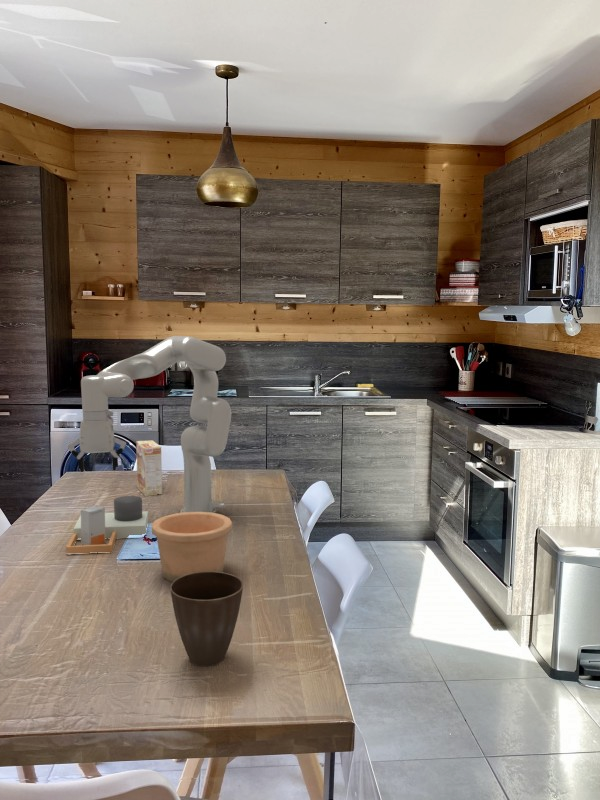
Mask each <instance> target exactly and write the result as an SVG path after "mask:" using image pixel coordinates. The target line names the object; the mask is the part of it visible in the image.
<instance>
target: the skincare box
mask: <svg viewBox="0 0 600 800" xmlns="http://www.w3.org/2000/svg"><path fill="white" fill-rule="evenodd" d="M105 509H106V508H105V507H104V506H103V507H102V506H99V505H93V506H88V507H86V508H83V509H80V515H81V541H80V542H81V545H102V544H106V540H105V513H106V511H105Z"/></svg>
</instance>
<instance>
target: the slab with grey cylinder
mask: <svg viewBox="0 0 600 800" xmlns="http://www.w3.org/2000/svg"><path fill="white" fill-rule="evenodd" d="M147 524H148V525H149V511H148V510H146V511H145V510H144V511H143V498H142V497H140V496H137V495H123V496H119V497H115V498H114V499H113V512H105V538H110V539H109V541H108V543H105V544H102V545H82V544H81V545H80V544H79V545H76V544H75V542H76V540H77V539H78V538H81V514H80V516H79V518H78V520H77V521H76V523H75V525H74V526H73V534H72V535H71V537H70V539H69V541H68V543H67V545H66V546H65V550H66V551H65V552H66V553H90V552H97V553H98V552H110V553H109V554H112V553H113V551H114V548H113V547H115V545H114V544H116V541H117V539H116V538H127V537H128V536H129V535H142V534H145V533H146V534H147V532H146V528H147V529H148V527H147ZM76 543H77V542H76ZM74 544H75V546H74ZM112 550H113V551H112ZM111 552H112V553H111Z"/></svg>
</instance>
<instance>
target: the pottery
mask: <svg viewBox="0 0 600 800" xmlns="http://www.w3.org/2000/svg"><path fill="white" fill-rule="evenodd" d="M232 529H233V522H232V520H231V518H230V517H228V516H226V515H224V514H220V513H217V512H216V513H211V512H183V513H180V512H178V513H177V512H176V513H173V514H169V515H165V516H162V517H160V518H157V519H156V520H154V522H153V523H152V524H151V532H152V535H154V536H155V537H156V541H157V548H158V552H159V553H158V555H159V560H160V566H161V571H162V572H161V573H162V577H163V578H164V579H166V580H167V582H171V583H173V582H174V581H175V580H176V579H178V578H180V577H182V576H184V575H188V574H191V573H197V572H223V573H224V564H225V558H226V553H227V551H226V550H227V544H228V536H229V535H228V534H229V533H230V532H231V530H232Z"/></svg>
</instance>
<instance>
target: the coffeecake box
mask: <svg viewBox="0 0 600 800" xmlns="http://www.w3.org/2000/svg"><path fill="white" fill-rule="evenodd" d="M135 443H136V476H137V478H136V479H137V487H138V488H137V489H138V490H139V491H140V492H141V494H143V495H144V496H145V497H147V496H146V495H154V496H158V495H157V494H162V495H163V472H162V470H163V469H162V468H163V467H162V466H163V465H162V462H163V461H162V446H161V445H160V444H158V443H157V442H155V441H154V440H153V439H152V440H136V442H135Z"/></svg>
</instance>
